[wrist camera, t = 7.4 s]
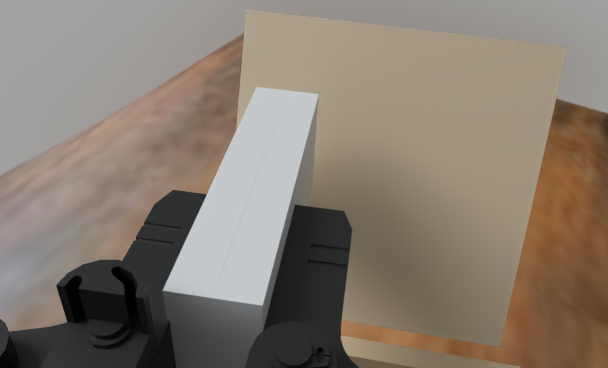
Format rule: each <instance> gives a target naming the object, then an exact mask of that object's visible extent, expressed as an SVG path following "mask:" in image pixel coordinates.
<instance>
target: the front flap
mask: <svg viewBox="0 0 608 368" xmlns="http://www.w3.org/2000/svg"><path fill="white" fill-rule="evenodd" d="M567 49H568V47H564V46H556V45H547V44H539V43H530V42H521V41H513V40H504V39H495V38H487V37H478V36H469V35H461V34H452V33H443V32H434V31H426V30H418V29H409V28H400V27H391V26H383V25H375V24H365V23H357V22H349V21H340V20H331V19H323V18H314V17H305V16H296V15H288V14H280V13H270V12H262V11H254V10H246V21H245V32H244V44H243V56H242V68H241V80H240V92H239V103H238V115H237V127H236V131H237V128H238V126H239V124H240V122H241V120H242V118H243V115H244V113H245V111H246V109H247V107H248V105H249V102H250V100H251V98H252V96H253V94H254V92H255V89H256V87H262V88H271V89H279V90H288V91H297V92H305V93H314V94H319V99H318V113H317V127H316V140H315V154H314V168H313V182H312V189H311V193H310V198H309V202H308V206H310V207H317V208H325V209H333V210H340V211H344V212H345V214H346V216H347V218H348V221H349V223H350V225H351V227H352V237H351V246H350V254H349V262H348V271H347V279H346V288H345V296H344V304H343V313H342V320H344V321H350V322H356V323H362V324H368V325H374V326H379V327H385V328H391V329H397V330H403V331H409V332H415V333H421V334H426V335H432V336H438V337H444V338H450V339H456V340H462V341H468V342H473V343H479V344H485V345H491V346H497V347H500V343H501V339H502V335H503V330H504V326H505V321H506V317H507V313H508V308H509V304H510V299H511V295H512V291H513V286H514V282H515V277H516V273H517V269H518V264H519V260H520V255H521V251H522V247H523V242H524V238H525V233H526V229H527V225H528V220H529V216H530V212H531V207H532V203H533V198H534V194H535V190H536V185H537V181H538V176H539V172H540V168H541V163H542V159H543V154H544V150H545V146H546V141H547V137H548V132H549V128H550V124H551V119H552V115H553V110H554V106H555V102H556V97H557V93H558V88H559V84H560V79H561V75H562V70H563V66H564V62H565V58H566V53H567Z"/></svg>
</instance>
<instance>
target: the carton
mask: <svg viewBox="0 0 608 368" xmlns="http://www.w3.org/2000/svg"><path fill="white" fill-rule="evenodd" d="M341 341H342V344H343V347H344V350H345V351H346V353H347V354H348V356H349V358H350V359H351V360H352V361H353V362H354V363H355V364H356V365H357V366H358V367H359V368H521V367H519V366H514V365H508V364H502V363H496V362H490V361H485V360H479V359H473V358H467V357H462V356H456V355H450V354H444V353H438V352H433V351H427V350H421V349H415V348H410V347H404V346H398V345H392V344H386V343H381V342H375V341H369V340H363V339H358V338H352V337H346V336H341Z"/></svg>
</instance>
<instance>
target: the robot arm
mask: <svg viewBox="0 0 608 368" xmlns="http://www.w3.org/2000/svg"><path fill="white" fill-rule="evenodd" d="M318 99H319V94H314V93H305V92H297V91H288V90H279V89H271V88H262V87H256V89H255V92H254V94H253V96H252V98H251V100H250V102H249V105H248V107H247V109H246V111H245V113H244V115H243V118H242V120H241V122H240V124H239V126H238V128H237V131H236V133H235V135H234V137H233V139H232V141H231V144H230V146H229V148H228V150H227V152H226V154H225V157H224V159H223V161H222V163H221V165H220V167H219V170H218V172H217V174H216V176H215V178H214V180H213V183H212V185H211V187H210V189H209V191H208V193H207V194H200V193H192V192H185V191H177V190H173V191H171V192H170V193H169V194H167V195H166V196H165V197H163V198H162V199H161V200H160V201H158V202H157V203H156V204H154V206H153V208H152V210H151V211H150V213H149V215H148V217H147V219H146V220H145V222H144V226H142V227H141V229H140V231H139V233H138V234H137V236H136V240H135V241H133V243H132V245H131V247H130V248H129V250H128V252H127V254H126V255H125V257H124V259H123V261H120V260H98V261H95V262H91V263H87V264H83V265H81V266H80V267H78V268H76V269H74V270H73V271H71V272H69V273H67V275H66V276H65V277H64V278H63V279H62V280H61V281H60V282H59V283H58V284H57V285H56V286H57V289H58V293H59V296H60V299H61V302H62V306H63V309H64V312H65V315H66V319H67V322H66V323H64V324H60V325H56V326H51V327H45V328H37V329H28V330H20V331H12V332H9V331H8V329H7V326H6V324H5V323H4V322H3V321H2V320H0V368H359V367H358V366H357V365H356V364H355V363H354V362H353V361H352V360H351V359H350V358H349V356H348V354H347V353H346V351H345V350H344V347H343V344H342V341H341V321H342V313H343V304H344V296H345V288H346V279H347V271H348V262H349V254H350V246H351V237H352V227H351V225H350V223H349V221H348V218H347V216H346V214H345V212H344V211H340V210H333V209H325V208H317V207H310V206H308V202H309V198H310V193H311V189H312V182H313V168H314V154H315V140H316V127H317V113H318Z"/></svg>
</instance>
